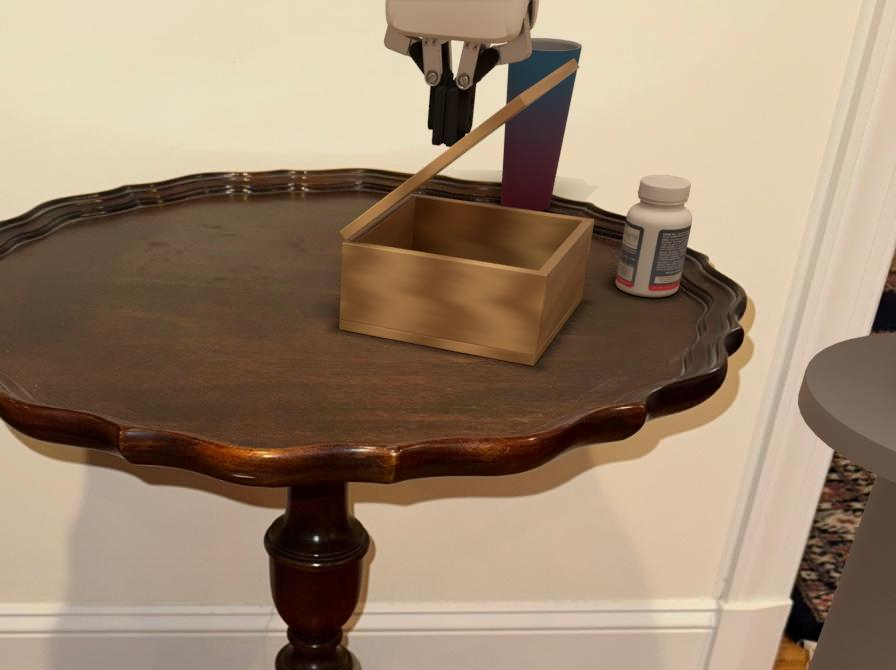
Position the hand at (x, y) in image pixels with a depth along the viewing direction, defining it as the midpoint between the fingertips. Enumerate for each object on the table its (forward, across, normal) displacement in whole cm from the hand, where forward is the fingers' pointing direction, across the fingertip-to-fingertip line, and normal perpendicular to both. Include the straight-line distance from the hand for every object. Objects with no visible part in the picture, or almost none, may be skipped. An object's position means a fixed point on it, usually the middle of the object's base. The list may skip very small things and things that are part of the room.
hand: (448, 141), depth 84 cm
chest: (+13, -2, 0) cm, 13 cm away
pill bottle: (+13, -14, -13) cm, 24 cm away
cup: (+13, +2, -32) cm, 35 cm away
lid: (+1, -1, 0) cm, 1 cm away
